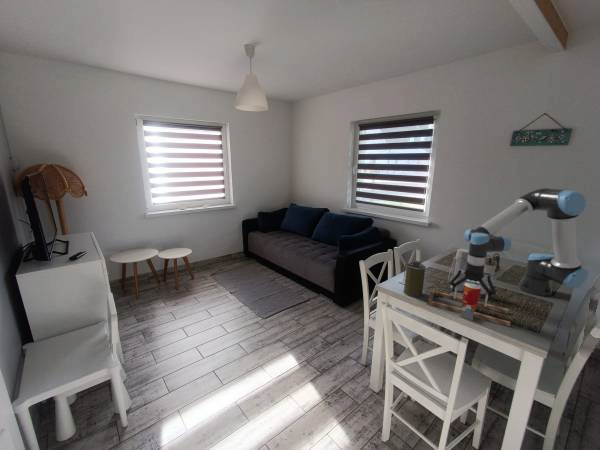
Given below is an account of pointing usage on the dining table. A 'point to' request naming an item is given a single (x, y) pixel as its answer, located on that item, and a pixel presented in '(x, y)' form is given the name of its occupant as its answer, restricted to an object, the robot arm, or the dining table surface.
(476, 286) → the coffee cup
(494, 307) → the brown piece
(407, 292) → the canister
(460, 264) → the water bottle
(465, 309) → the block
